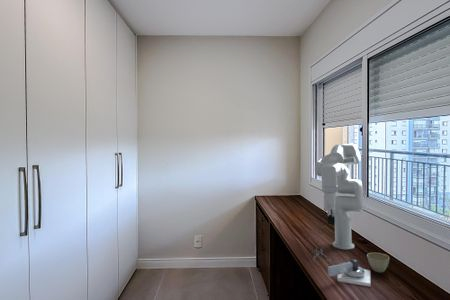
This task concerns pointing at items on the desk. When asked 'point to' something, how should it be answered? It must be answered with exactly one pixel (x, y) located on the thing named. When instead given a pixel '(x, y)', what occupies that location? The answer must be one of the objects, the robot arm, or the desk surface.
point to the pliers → (321, 254)
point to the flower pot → (378, 261)
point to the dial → (347, 269)
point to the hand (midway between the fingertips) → (331, 223)
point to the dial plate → (356, 279)
